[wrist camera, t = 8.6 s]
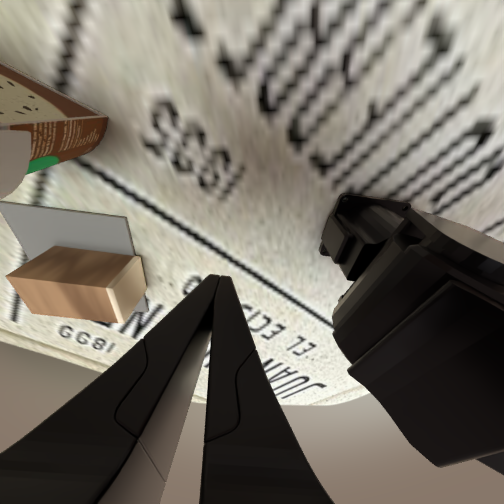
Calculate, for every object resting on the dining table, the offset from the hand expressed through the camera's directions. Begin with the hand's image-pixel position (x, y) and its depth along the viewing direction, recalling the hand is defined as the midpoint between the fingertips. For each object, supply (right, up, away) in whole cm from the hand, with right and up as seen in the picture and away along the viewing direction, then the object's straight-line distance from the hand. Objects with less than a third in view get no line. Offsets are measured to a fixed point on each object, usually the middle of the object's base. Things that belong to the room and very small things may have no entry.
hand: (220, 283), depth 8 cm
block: (-11, -3, +13) cm, 18 cm away
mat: (-18, 0, +15) cm, 24 cm away
